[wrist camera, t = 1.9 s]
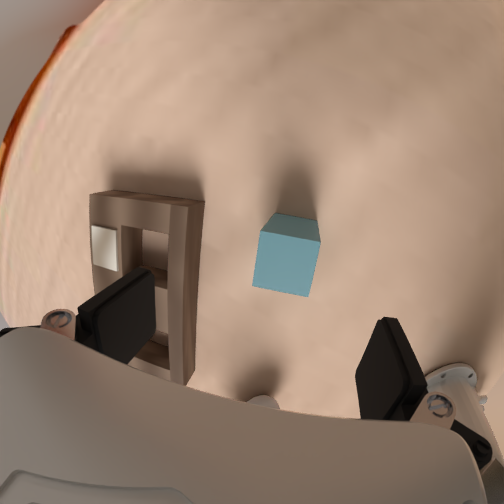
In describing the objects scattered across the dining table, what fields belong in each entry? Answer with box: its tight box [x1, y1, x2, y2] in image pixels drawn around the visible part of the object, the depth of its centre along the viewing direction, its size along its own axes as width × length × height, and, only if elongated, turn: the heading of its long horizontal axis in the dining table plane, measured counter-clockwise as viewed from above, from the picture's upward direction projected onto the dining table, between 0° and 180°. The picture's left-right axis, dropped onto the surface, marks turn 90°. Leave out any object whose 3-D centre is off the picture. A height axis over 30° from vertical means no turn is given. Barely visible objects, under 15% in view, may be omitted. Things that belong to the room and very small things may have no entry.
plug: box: [252, 213, 321, 297], centre depth 22 cm, size 4×4×8 cm
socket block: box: [89, 190, 205, 386], centre depth 29 cm, size 12×22×4 cm, turn 173°
